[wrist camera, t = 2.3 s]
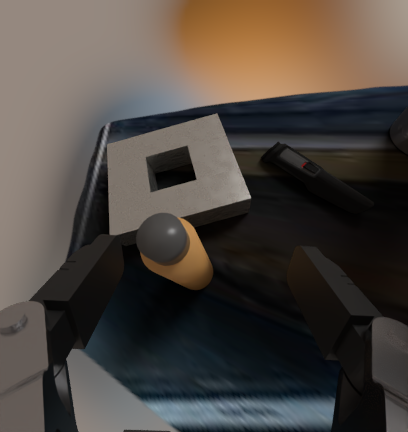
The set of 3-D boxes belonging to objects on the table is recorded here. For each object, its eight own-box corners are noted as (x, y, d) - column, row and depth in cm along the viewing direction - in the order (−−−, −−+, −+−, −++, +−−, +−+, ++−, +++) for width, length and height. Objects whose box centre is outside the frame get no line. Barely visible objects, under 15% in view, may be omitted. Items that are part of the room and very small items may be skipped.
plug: (208, 250, 27) (186, 197, 14) (217, 284, 25) (199, 258, 12) (176, 259, 27) (125, 214, 14) (182, 294, 25) (129, 277, 12)
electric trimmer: (350, 225, 26) (364, 215, 23) (258, 160, 32) (261, 146, 29) (367, 207, 27) (383, 195, 24) (274, 147, 33) (278, 131, 30)
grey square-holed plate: (218, 133, 35) (217, 113, 32) (248, 212, 28) (251, 198, 25) (120, 161, 35) (107, 144, 32) (125, 246, 28) (109, 236, 25)
